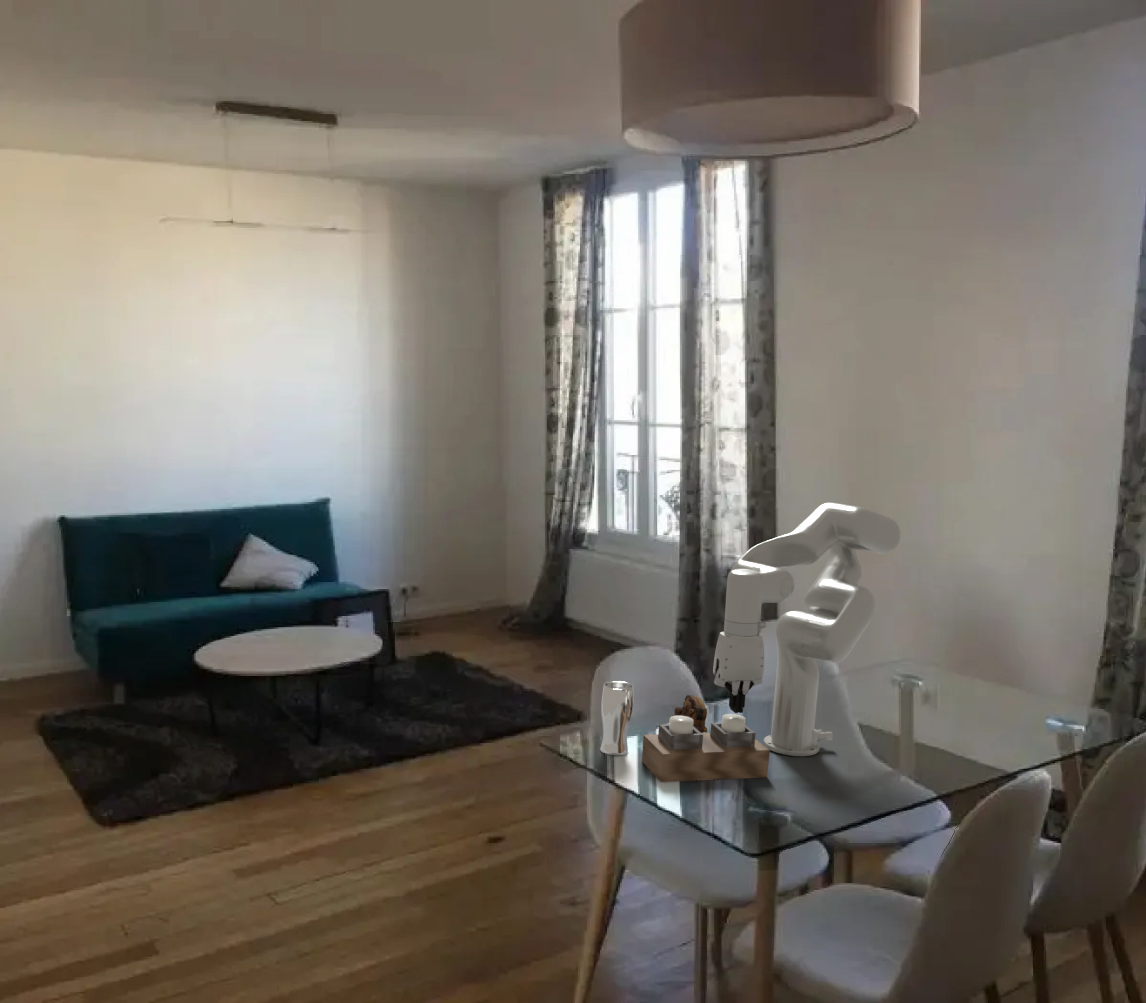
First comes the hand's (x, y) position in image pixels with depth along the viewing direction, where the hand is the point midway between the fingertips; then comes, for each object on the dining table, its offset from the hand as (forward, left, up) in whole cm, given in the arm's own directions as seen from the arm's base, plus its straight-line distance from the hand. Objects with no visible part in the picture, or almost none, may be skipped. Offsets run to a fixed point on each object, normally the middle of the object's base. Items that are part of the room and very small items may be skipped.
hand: (736, 710), depth 254 cm
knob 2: (+1, 0, -6) cm, 6 cm away
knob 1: (+13, 0, -6) cm, 14 cm away
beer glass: (+23, -13, -13) cm, 29 cm away
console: (+7, 0, -13) cm, 14 cm away
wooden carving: (+3, -19, -13) cm, 23 cm away
